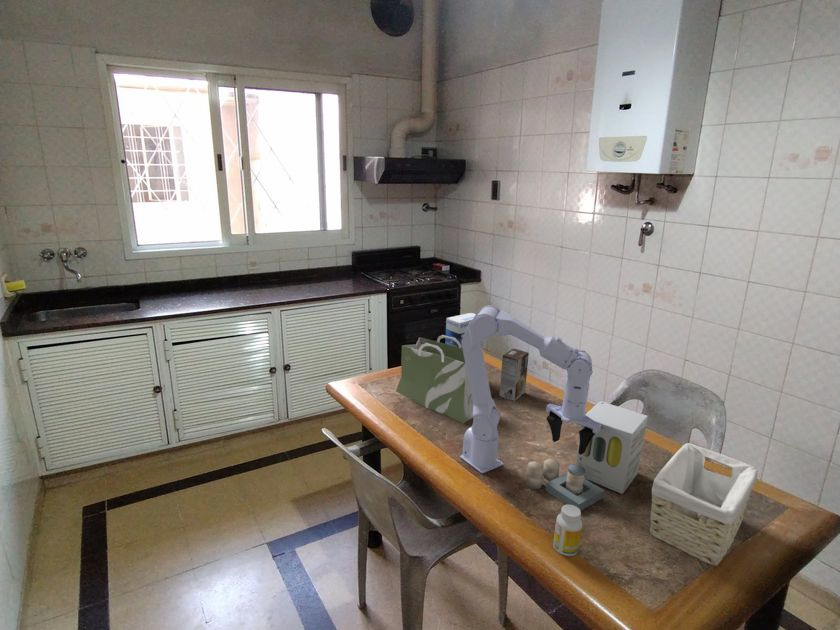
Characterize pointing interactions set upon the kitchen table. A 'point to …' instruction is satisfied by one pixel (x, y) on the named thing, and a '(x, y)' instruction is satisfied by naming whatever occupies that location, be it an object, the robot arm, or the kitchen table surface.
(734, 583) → the kitchen table surface
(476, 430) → the robot arm
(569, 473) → the long pin
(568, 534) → the supplement bottle
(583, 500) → the collar block
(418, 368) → the grocery bag
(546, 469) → the short pin
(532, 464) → the medium pin
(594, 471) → the supplement box
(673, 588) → the kitchen table surface
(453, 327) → the string lights box
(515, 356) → the coffee box
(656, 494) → the storage basket
